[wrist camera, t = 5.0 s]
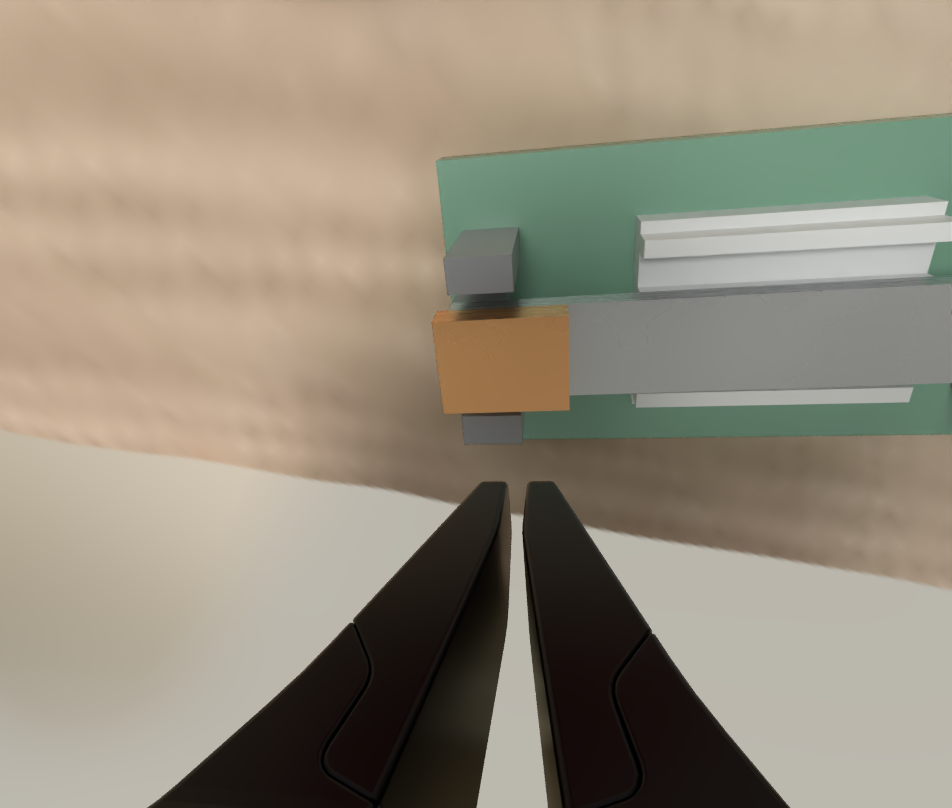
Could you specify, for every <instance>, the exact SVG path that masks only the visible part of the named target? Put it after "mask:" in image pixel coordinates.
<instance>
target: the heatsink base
mask: <svg viewBox="0 0 952 808" xmlns="http://www.w3.org/2000/svg"><path fill="white" fill-rule="evenodd" d="M436 166H437V175H438V183H439V192H440V201H441V210H442V219H443V228H444V237H445V246H446V255H445V257H444V258H443V260H444V269H445V277H446V286H447V295H451V300H452V303H455V302H473V301H492V300H510V299H528V298H546V297H565V296H583V295H601V294H619V293H638V292H656V291H674V290H692V289H711V288H729V287H747V286H765V285H784V284H802V283H820V282H838V281H857V280H875V279H893V278H911V277H930V276H948V275H952V113H946V114H935V115H923V116H912V117H900V118H889V119H877V120H866V121H854V122H843V123H831V124H820V125H808V126H797V127H785V128H774V129H762V130H751V131H739V132H728V133H716V134H705V135H694V136H682V137H671V138H659V139H648V140H636V141H625V142H613V143H602V144H590V145H579V146H567V147H556V148H544V149H533V150H521V151H510V152H498V153H487V154H475V155H464V156H452V157H442V158H441V159H439V160H437V161H436ZM569 400H570V410H562V411H528V412H493V413H462V425H463V434H464V442H465V444H522V442H523V439H600V438H683V437H767V436H851V435H935V434H952V383H937V384H907V385H876V386H845V387H814V388H783V389H752V390H721V391H691V392H660V393H629V394H598V395H569Z"/></svg>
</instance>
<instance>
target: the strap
mask: <svg viewBox="0 0 952 808" xmlns="http://www.w3.org/2000/svg"><path fill="white" fill-rule="evenodd" d="M432 328H433V336H434V343H435V351H436V358H437V366H438V374H439V381H440V389H441V396H442V404H443V412H444V414H459V413H493V412H528V411H562V410H570V400H569V395H598V394H629V393H660V392H691V391H721V390H752V389H783V388H814V387H845V386H876V385H907V384H937V383H952V275H948V276H930V277H911V278H893V279H875V280H857V281H838V282H820V283H802V284H784V285H765V286H747V287H729V288H711V289H692V290H674V291H656V292H638V293H619V294H601V295H583V296H565V297H546V298H528V299H510V300H492V301H473V302H455V303H451V304H450V306H449V309H448V311H437V312H436V315H435V317H434V319H433V321H432Z"/></svg>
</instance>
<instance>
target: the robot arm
mask: <svg viewBox="0 0 952 808" xmlns="http://www.w3.org/2000/svg"><path fill="white" fill-rule="evenodd" d="M511 531H512V530H511V514H510V501H509V490H508V485H507V483H506V482H481V483H480V484H479V485H478V486H477V487H476V488H475V489H474V490H473V491H472V492H471V493H470V494H469V496H468V497H467V498H466V499H465V500H464V501H463V502H462V503H461V504H460V505H459V506H458V507H457V509H456V510H455V511H454V512H453V513H452V514H451V515H450V516H449V517H448V518H447V519H446V520H445V521H444V522H443V523H442V524H441V526H440V527H439V528H438V529H437V530H436V531H435V532H434V533H433V534H432V535H431V536H430V537H429V539H428V540H427V541H426V542H425V543H424V544H423V545H422V546H421V547H420V548H419V549H418V550H417V551H416V552H415V553H414V554H413V556H412V557H411V558H410V559H409V560H408V561H407V562H406V563H405V564H404V565H403V566H402V568H400V570H399V571H398V572H397V573H396V574H395V575H394V576H393V577H392V578H391V579H390V580H389V581H388V582H387V583H386V585H385V586H384V587H383V588H382V589H381V590H380V591H379V592H378V593H377V594H376V595H375V596H374V598H373V599H372V600H371V601H370V602H369V603H368V604H367V605H366V606H365V607H364V608H363V609H362V610H361V611H360V612H359V613H358V615H357V616H356V617H355V618H354V620H353V622H354V624H353V623H349V624H348V625H347V626H346V627H345V628H344V629H343V630H342V631H341V633H339V635H338V636H337V637H336V638H335V639H334V640H333V641H332V642H331V643H330V644H329V645H328V646H327V647H326V648H325V649H324V650H323V651H322V652H321V653H320V654H319V655H318V656H317V658H315V659H314V660H313V661H312V662H311V663H310V664H309V665H308V666H307V667H306V669H305V670H304V671H303V672H301V674H300V675H298V676H297V677H296V678H295V679H294V680H293V681H292V682H291V683H290V684H289V685H287V686H286V687H285V688H284V689H283V690H282V691H281V692H280V693H279V694H278V695H277V696H276V697H274V698H273V699H272V700H271V701H270V702H269V703H268V704H267V705H266V706H265V707H263V708H262V709H261V710H260V711H259V712H258V713H257V714H256V715H254V716H253V717H252V718H251V719H250V720H249V721H248V722H247V723H245V724H244V725H243V726H242V727H241V728H240V729H239V730H238V731H236V732H235V733H234V734H233V735H232V736H231V737H230V738H229V739H227V741H225V742H224V743H223V744H222V745H221V746H219V748H217V749H216V750H215V751H214V752H213V753H212V754H210V755H209V756H208V757H207V758H206V759H205V760H204V761H203V762H201V763H200V764H199V765H198V766H197V767H196V768H195V769H194V770H192V771H191V772H190V773H189V774H188V775H187V776H186V777H185V778H184V779H182V780H181V781H180V782H179V783H178V784H177V785H175V787H173V788H172V789H171V790H169V791H168V792H167V793H166V794H165V795H163V796H162V797H161V798H160V799H159V800H157V801H156V802H155V803H153V804H152V805H150V806H149V807H148V808H476V807H477V801H478V795H479V789H480V784H481V778H482V772H483V766H484V759H485V754H486V749H487V743H488V736H489V731H490V725H491V719H492V713H493V707H494V701H495V696H496V689H497V684H498V678H499V672H500V667H501V661H502V655H503V649H504V643H505V636H506V629H507V620H508V606H509V603H508V602H509V582H510V581H509V580H510V558H511V534H512V533H511ZM522 534H523V548H524V563H525V577H526V591H527V606H528V620H529V634H530V645H531V654H532V663H533V673H534V682H535V691H536V701H537V709H538V719H539V728H540V737H541V746H542V756H543V765H544V774H545V782H546V783H545V784H546V792H547V802H548V808H790V807H789V806H788V805H787V804H786V802H785V801H784V800H783V799H782V798H781V796H780V795H779V794H778V793H777V792H776V790H775V789H774V788H773V787H772V786H771V784H769V782H768V781H767V780H766V779H765V778H764V776H763V775H762V774H761V773H760V772H759V770H758V769H757V768H756V767H755V765H754V764H753V763H752V762H751V761H750V760H749V758H748V757H747V756H746V755H745V754H744V753H743V751H742V750H741V749H740V748H739V746H738V745H737V744H736V743H735V742H734V740H733V739H732V738H731V737H730V736H729V734H728V733H727V732H726V731H725V730H724V728H723V727H722V726H721V725H720V724H719V722H718V721H717V720H716V718H715V717H714V716H713V715H712V713H711V712H710V711H709V710H708V708H707V707H706V706H705V705H704V703H703V702H702V701H701V700H700V698H699V697H698V696H697V695H696V693H695V692H694V691H693V689H692V688H691V686H690V685H689V683H688V682H687V681H686V679H685V678H684V676H683V675H682V674H681V672H680V671H679V669H678V668H677V667H676V665H675V664H674V662H673V661H672V660H671V658H670V657H669V655H668V654H667V652H666V651H665V649H664V648H663V646H662V644H661V643H660V642H659V640H658V638H657V637H656V636H655V635H654V634H652V630H651V628H650V627H649V625H648V624H647V622H646V621H645V619H644V618H643V616H642V615H641V613H640V612H639V610H638V609H637V607H636V606H635V604H634V602H633V601H632V600H631V598H630V596H629V595H628V593H627V592H626V590H625V589H624V587H623V586H622V584H621V583H620V581H619V580H618V578H617V577H616V575H615V574H614V572H613V571H612V569H611V568H610V566H609V565H608V563H607V561H606V560H605V559H604V557H603V555H602V554H601V552H600V551H599V549H598V548H597V546H596V545H595V543H594V542H593V540H592V539H591V537H590V536H589V534H588V533H587V531H586V530H585V528H584V527H583V525H582V524H581V522H580V521H579V519H578V518H577V516H576V514H575V513H574V511H573V510H572V508H571V507H570V505H569V504H568V502H567V501H566V499H565V498H564V496H563V495H562V493H561V492H560V490H559V489H558V487H557V486H556V484H555V483H554V482H551V481H532V482H529V483H528V484H527V490H526V499H525V508H524V518H523V531H522Z"/></svg>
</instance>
